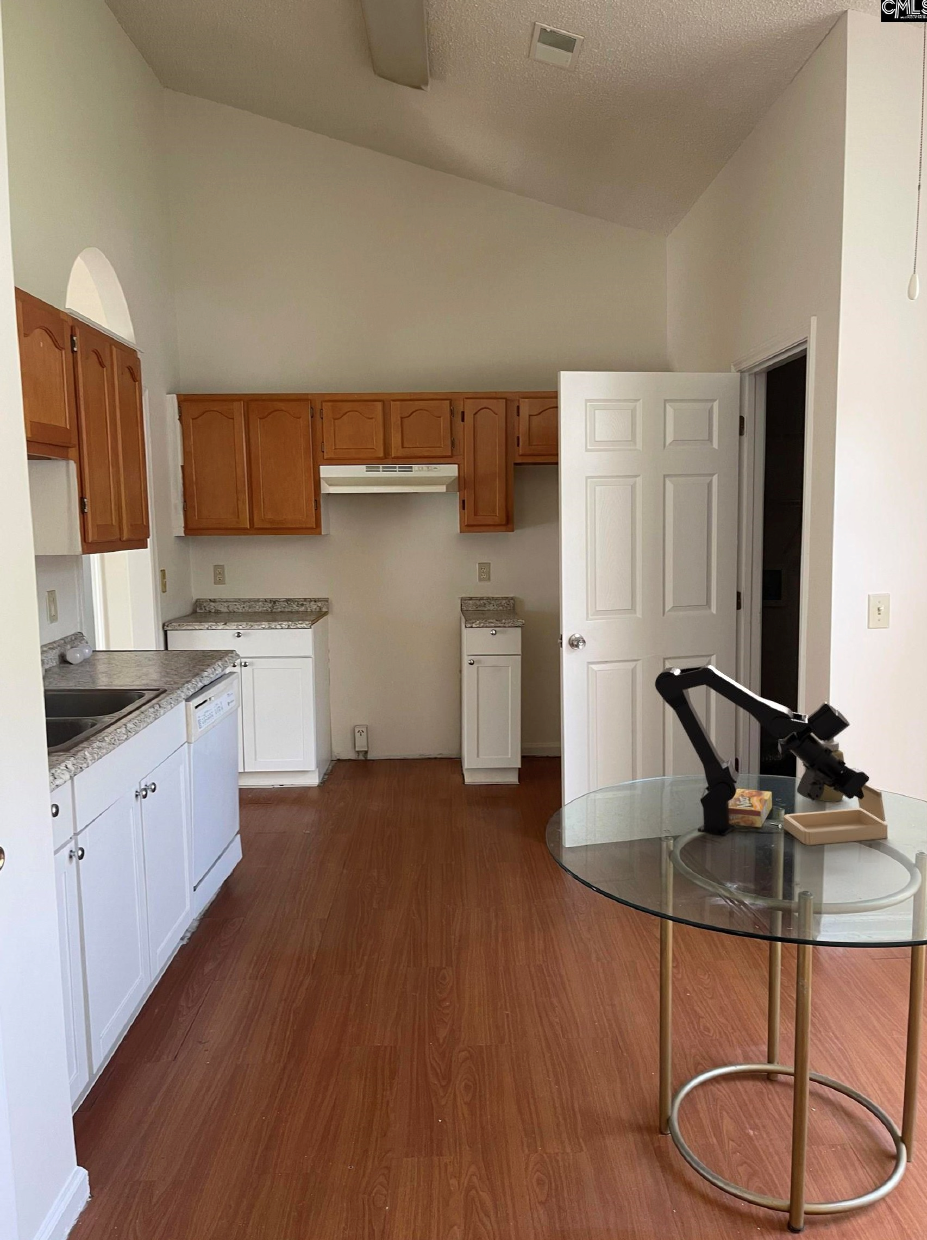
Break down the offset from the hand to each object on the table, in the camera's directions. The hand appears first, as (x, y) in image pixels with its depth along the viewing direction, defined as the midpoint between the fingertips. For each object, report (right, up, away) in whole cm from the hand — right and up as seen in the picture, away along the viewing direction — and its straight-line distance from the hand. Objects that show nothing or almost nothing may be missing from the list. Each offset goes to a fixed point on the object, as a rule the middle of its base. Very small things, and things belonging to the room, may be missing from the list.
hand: (862, 797), depth 193 cm
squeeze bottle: (+3, -5, +23) cm, 24 cm away
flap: (+3, -4, +1) cm, 5 cm away
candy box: (-17, -4, +22) cm, 28 cm away
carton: (-6, -8, +1) cm, 10 cm away
